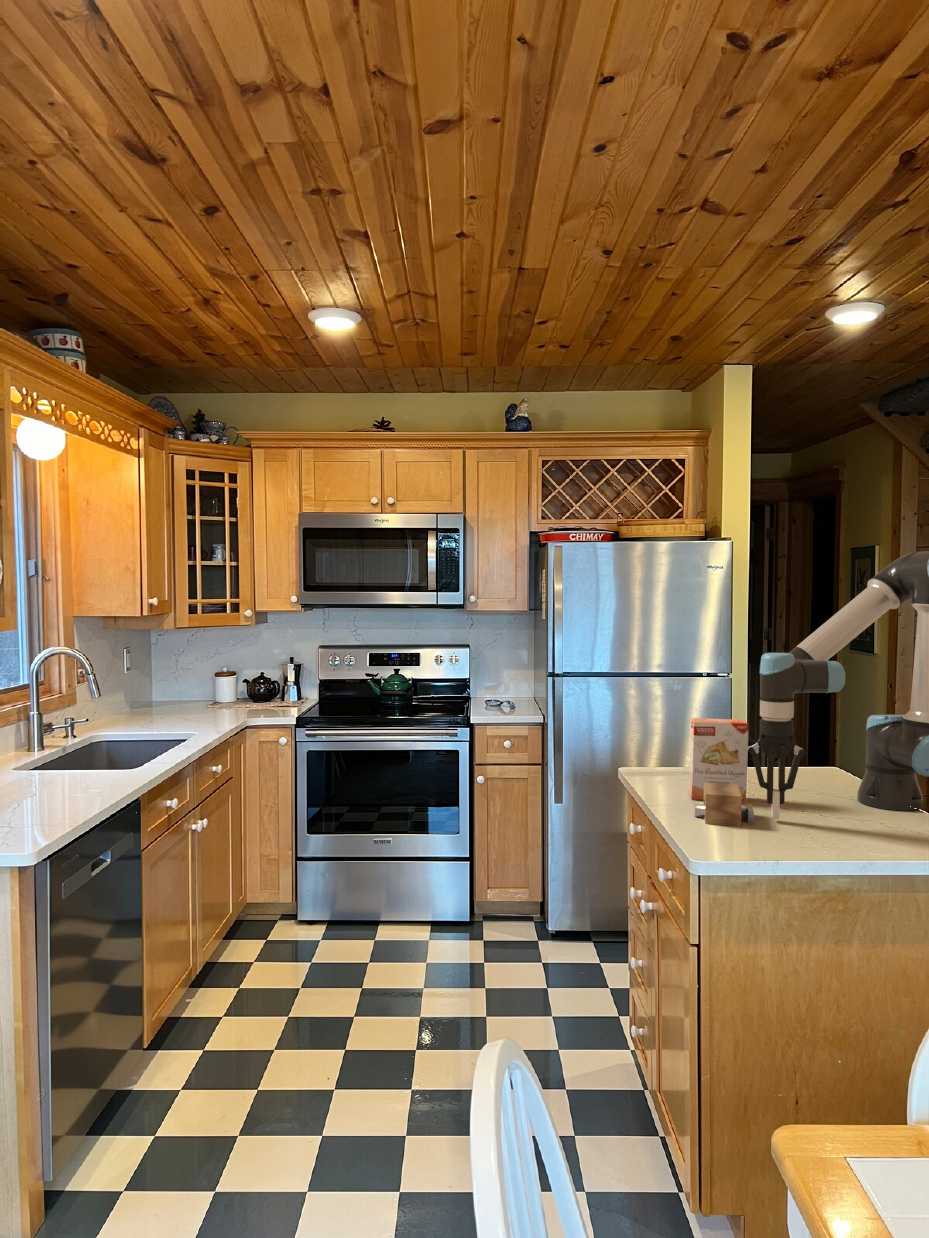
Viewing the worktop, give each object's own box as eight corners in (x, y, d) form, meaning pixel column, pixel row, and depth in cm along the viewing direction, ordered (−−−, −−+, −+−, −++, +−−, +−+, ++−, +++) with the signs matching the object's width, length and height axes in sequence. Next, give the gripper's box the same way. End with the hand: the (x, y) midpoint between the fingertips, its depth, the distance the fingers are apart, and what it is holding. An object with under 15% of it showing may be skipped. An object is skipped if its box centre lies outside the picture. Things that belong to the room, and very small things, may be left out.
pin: (750, 817, 203) (751, 804, 203) (753, 823, 197) (753, 811, 197) (694, 813, 206) (694, 801, 206) (695, 819, 200) (695, 807, 200)
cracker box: (691, 800, 218) (693, 720, 217) (688, 795, 224) (689, 717, 223) (747, 802, 216) (749, 722, 215) (742, 797, 222) (744, 718, 221)
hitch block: (737, 812, 206) (737, 784, 206) (741, 826, 195) (741, 796, 194) (703, 810, 208) (703, 782, 208) (705, 823, 196) (705, 794, 196)
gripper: (803, 716, 200) (802, 814, 201) (746, 715, 203) (745, 811, 204) (808, 722, 192) (807, 823, 193) (748, 719, 196) (747, 819, 197)
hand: (775, 817), depth 199 cm, fingers closed
